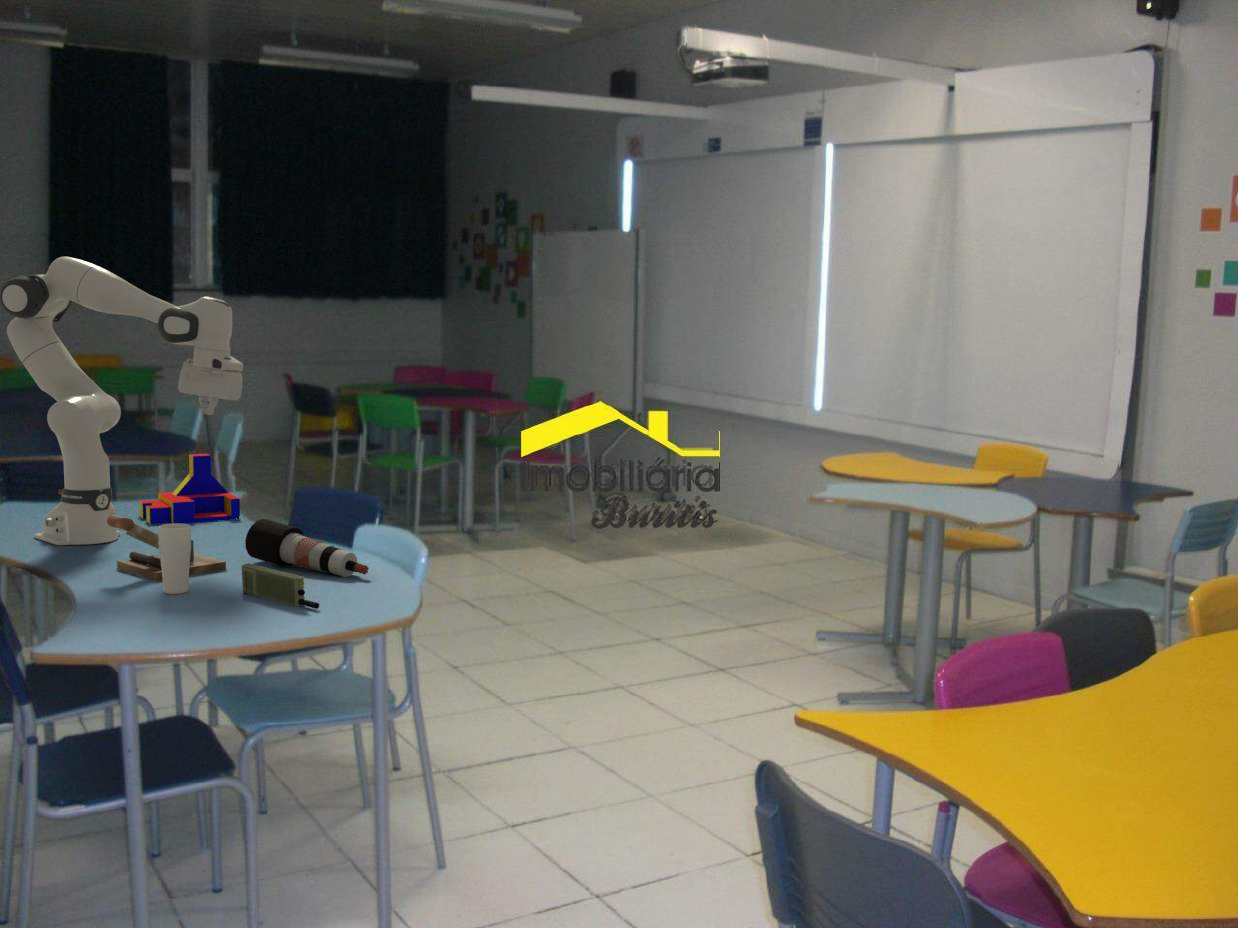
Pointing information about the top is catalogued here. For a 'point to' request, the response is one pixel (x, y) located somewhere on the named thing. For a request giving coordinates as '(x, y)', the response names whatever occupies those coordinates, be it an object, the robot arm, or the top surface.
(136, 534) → the cutter lever
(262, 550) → the cable
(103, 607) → the top surface
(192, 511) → the building blocks toy
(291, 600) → the handheld radio
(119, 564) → the cutter board
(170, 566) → the drinking glass
